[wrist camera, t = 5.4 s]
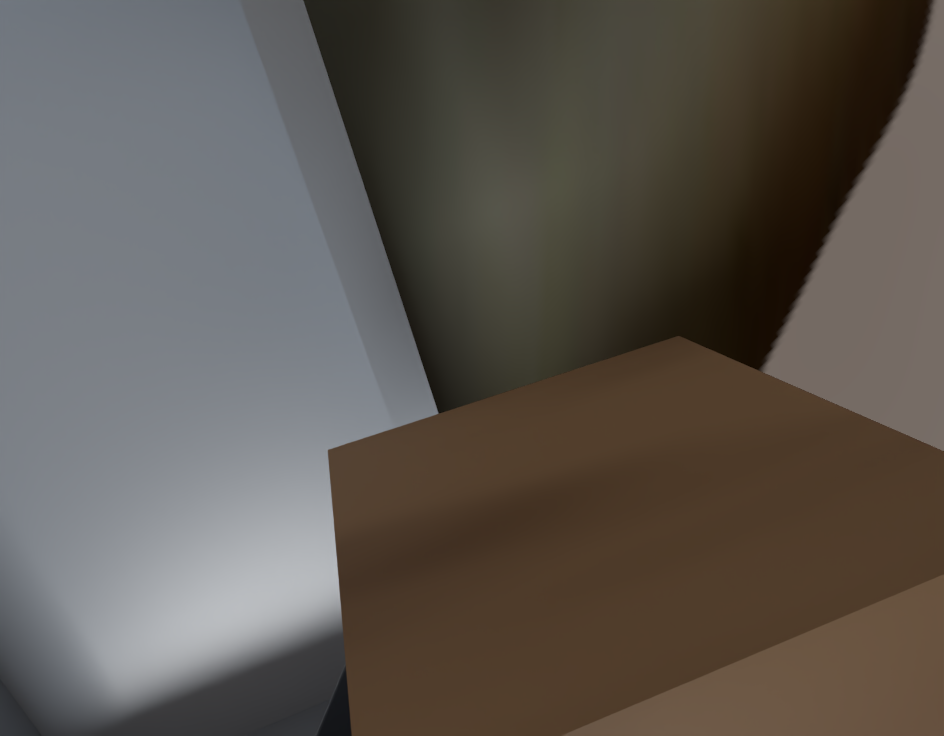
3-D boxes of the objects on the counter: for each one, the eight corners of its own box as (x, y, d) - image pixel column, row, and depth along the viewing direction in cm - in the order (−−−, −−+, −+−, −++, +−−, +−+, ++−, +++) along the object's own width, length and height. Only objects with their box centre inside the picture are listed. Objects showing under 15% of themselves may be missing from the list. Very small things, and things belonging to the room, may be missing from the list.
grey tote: (497, 630, 22) (549, 753, 17) (82, 806, 20) (15, 1000, 15) (247, -114, 14) (220, -252, 10) (-476, 50, 12) (-953, -22, 8)
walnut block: (715, 615, 11) (1036, 959, 6) (428, 731, 10) (538, 1234, 5) (678, 335, 9) (1085, 513, 4) (327, 449, 8) (359, 818, 3)
